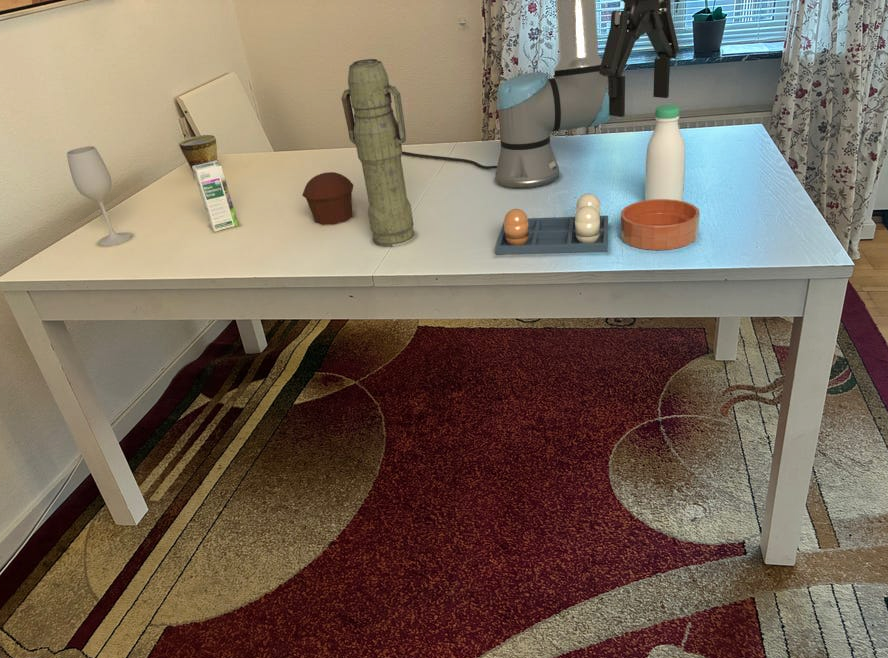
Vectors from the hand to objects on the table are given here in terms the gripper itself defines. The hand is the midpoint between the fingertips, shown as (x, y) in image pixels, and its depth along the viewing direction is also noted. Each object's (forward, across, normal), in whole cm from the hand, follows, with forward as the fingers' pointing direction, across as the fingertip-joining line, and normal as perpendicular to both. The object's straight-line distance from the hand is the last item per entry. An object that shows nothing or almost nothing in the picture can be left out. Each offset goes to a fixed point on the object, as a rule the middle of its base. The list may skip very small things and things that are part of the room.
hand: (639, 106), depth 130 cm
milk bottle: (+24, +15, +4) cm, 29 cm away
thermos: (+24, -28, +41) cm, 55 cm away
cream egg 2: (+24, -10, +4) cm, 26 cm away
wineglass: (+24, -64, +100) cm, 121 cm away
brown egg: (+24, -18, +15) cm, 33 cm away
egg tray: (+24, -11, +12) cm, 29 cm away
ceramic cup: (+25, -27, +128) cm, 133 cm away
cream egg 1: (+24, -4, +8) cm, 25 cm away
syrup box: (+24, -45, +83) cm, 98 cm away
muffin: (+24, -27, +63) cm, 73 cm away
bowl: (+24, 0, -5) cm, 25 cm away
